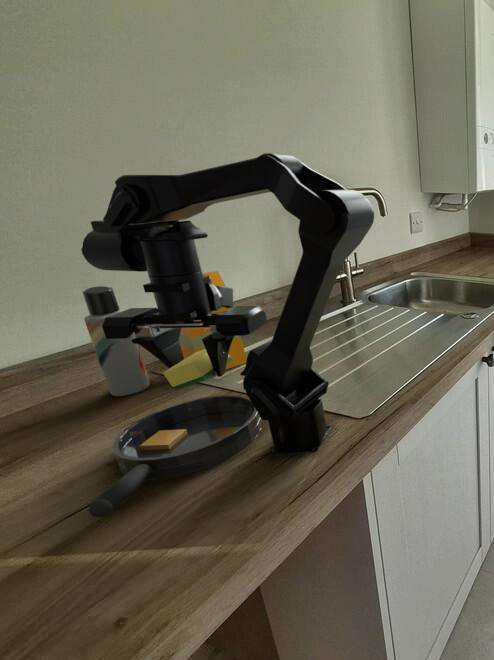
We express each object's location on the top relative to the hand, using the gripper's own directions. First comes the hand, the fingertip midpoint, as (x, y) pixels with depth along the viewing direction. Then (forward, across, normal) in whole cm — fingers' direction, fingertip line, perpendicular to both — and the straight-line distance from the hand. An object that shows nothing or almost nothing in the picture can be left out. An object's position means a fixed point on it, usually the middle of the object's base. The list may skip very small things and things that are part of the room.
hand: (202, 376), depth 61 cm
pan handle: (+9, +2, +15) cm, 17 cm away
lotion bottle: (+11, +26, -17) cm, 33 cm away
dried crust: (+10, +6, +2) cm, 12 cm away
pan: (+10, +2, +2) cm, 10 cm away
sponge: (0, 0, 0) cm, 1 cm away
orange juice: (+10, +16, -27) cm, 33 cm away
